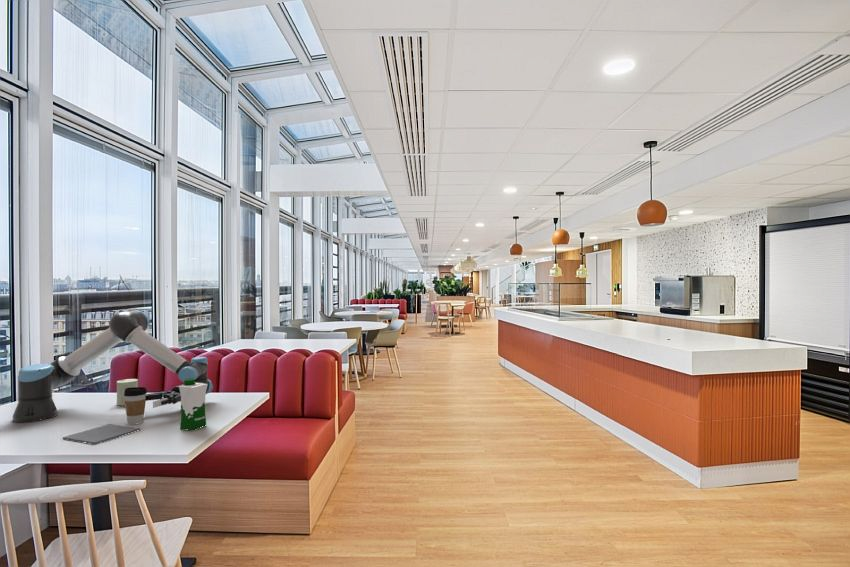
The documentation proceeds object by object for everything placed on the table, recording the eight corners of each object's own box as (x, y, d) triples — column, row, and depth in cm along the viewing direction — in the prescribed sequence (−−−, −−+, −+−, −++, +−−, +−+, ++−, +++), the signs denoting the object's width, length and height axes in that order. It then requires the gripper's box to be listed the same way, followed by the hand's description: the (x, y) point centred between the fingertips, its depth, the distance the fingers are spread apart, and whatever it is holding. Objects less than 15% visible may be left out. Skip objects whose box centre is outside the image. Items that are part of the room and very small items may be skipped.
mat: (62, 439, 173) (62, 437, 173) (109, 425, 190) (109, 423, 190) (94, 444, 167) (94, 442, 167) (140, 430, 184) (140, 428, 184)
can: (126, 400, 232) (126, 377, 232) (142, 401, 231) (142, 378, 231) (111, 405, 223) (111, 381, 223) (128, 406, 222) (128, 381, 222)
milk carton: (194, 423, 192) (194, 377, 193) (210, 425, 189) (210, 378, 190) (176, 429, 184) (176, 381, 184) (192, 432, 181) (193, 382, 181)
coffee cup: (126, 421, 196) (126, 386, 197) (148, 418, 200) (148, 385, 200) (121, 426, 189) (121, 390, 189) (144, 424, 192) (145, 389, 192)
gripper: (202, 402, 212) (163, 414, 192) (163, 398, 221) (122, 409, 201) (202, 386, 212) (163, 397, 192) (164, 383, 221) (122, 392, 201)
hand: (142, 403), depth 197 cm, fingers open, 13 cm apart
